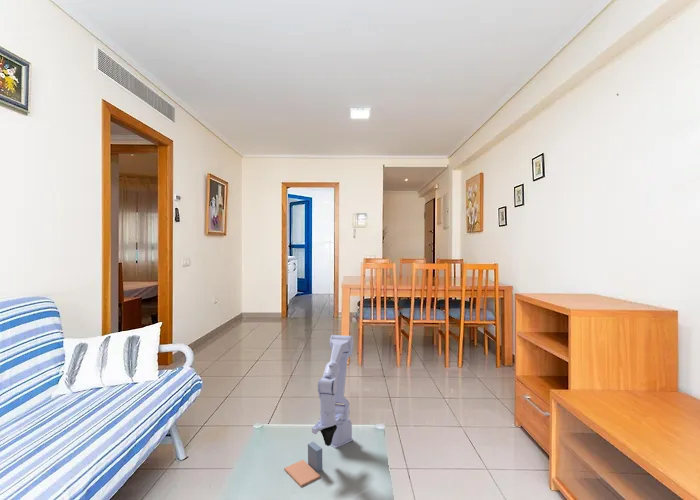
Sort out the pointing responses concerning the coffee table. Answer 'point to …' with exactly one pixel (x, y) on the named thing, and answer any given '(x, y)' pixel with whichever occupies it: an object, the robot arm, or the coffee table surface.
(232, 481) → the coffee table surface
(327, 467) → the coffee table surface
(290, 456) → the coffee table surface
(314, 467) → the slab
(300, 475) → the mat
